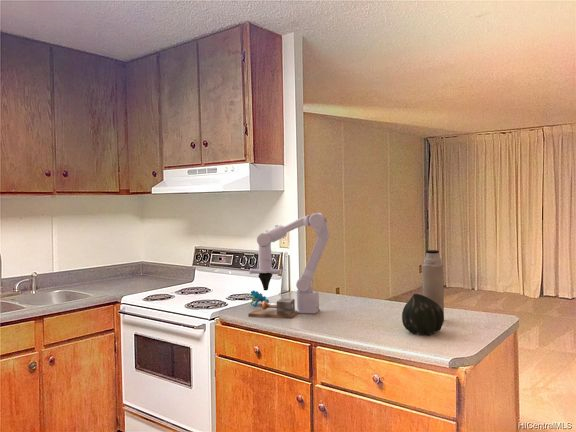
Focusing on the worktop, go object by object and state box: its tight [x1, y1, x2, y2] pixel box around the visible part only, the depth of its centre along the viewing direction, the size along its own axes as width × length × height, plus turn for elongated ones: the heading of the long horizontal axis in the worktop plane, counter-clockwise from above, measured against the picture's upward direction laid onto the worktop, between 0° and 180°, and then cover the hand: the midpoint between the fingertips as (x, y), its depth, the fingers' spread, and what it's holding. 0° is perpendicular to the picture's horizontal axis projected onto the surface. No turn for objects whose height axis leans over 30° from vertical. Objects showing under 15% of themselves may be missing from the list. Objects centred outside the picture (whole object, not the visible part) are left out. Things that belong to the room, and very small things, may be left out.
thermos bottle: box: [421, 249, 445, 315], centre depth 188 cm, size 8×8×28 cm
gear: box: [249, 290, 270, 307], centre depth 223 cm, size 11×6×10 cm
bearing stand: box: [247, 297, 299, 319], centre depth 204 cm, size 20×9×6 cm, turn 74°
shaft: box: [261, 301, 293, 310], centre depth 203 cm, size 13×4×4 cm, turn 74°
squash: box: [401, 293, 445, 336], centre depth 172 cm, size 14×15×15 cm
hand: (265, 290), depth 211 cm, fingers closed
